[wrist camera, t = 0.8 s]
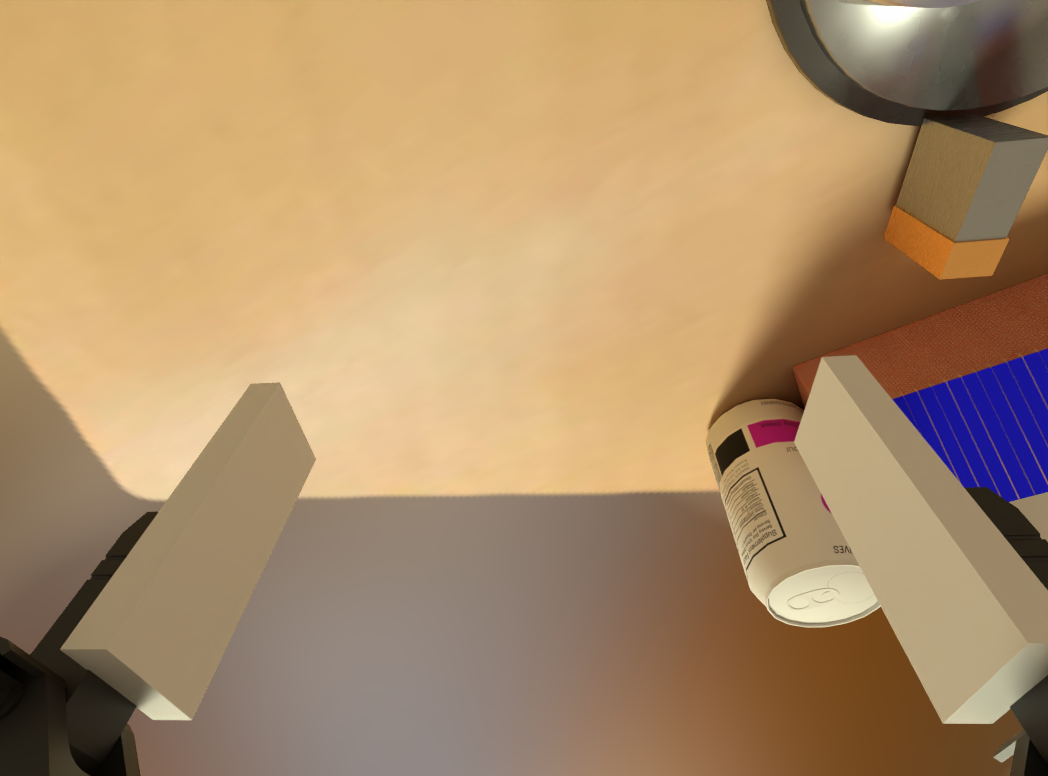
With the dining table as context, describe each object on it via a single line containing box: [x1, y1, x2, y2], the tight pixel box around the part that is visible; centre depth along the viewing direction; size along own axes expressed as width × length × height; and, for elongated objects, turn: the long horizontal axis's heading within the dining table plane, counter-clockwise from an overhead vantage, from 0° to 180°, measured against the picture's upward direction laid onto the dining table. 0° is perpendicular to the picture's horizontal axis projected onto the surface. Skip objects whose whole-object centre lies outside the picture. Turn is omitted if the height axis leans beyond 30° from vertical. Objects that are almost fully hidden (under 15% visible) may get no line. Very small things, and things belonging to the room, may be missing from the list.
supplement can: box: [706, 399, 881, 627], centre depth 38 cm, size 8×8×15 cm
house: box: [792, 273, 1048, 502], centre depth 35 cm, size 12×20×12 cm, turn 119°
